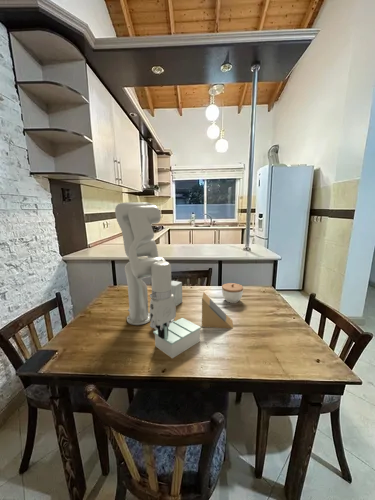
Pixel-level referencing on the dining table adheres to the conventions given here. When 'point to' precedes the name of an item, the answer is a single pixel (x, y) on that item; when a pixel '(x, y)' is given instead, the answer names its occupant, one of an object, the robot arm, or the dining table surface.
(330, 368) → the dining table surface
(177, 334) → the lid
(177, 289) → the supplement box
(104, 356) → the dining table surface
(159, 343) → the box
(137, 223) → the robot arm
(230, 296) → the lidded bowl
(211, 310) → the sandwich container
